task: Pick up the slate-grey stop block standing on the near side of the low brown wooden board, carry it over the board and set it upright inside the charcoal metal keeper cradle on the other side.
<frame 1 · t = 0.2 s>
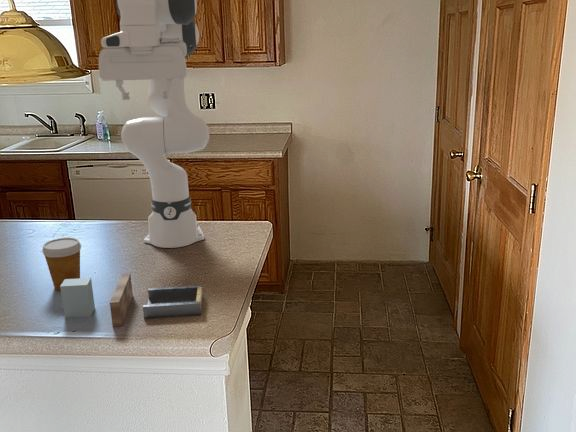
hand: (146, 99, 138), 48 cm above the counter, fingers open, 8 cm apart
brown wooden board: (123, 310, 136), on the counter
stop block: (80, 313, 136), on the counter
keeper: (174, 307, 138), on the counter
disposable coffee cup: (67, 287, 150), on the counter
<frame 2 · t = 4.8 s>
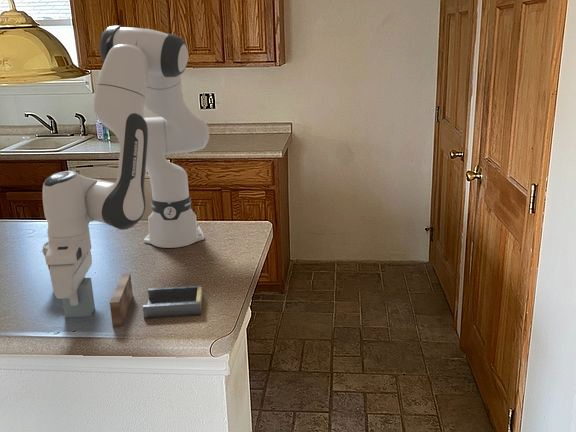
hand: (78, 298, 134), 4 cm above the counter, fingers closed on stop block, 4 cm apart
stop block: (80, 312, 136), on the counter, touching gripper
everything else where it was.
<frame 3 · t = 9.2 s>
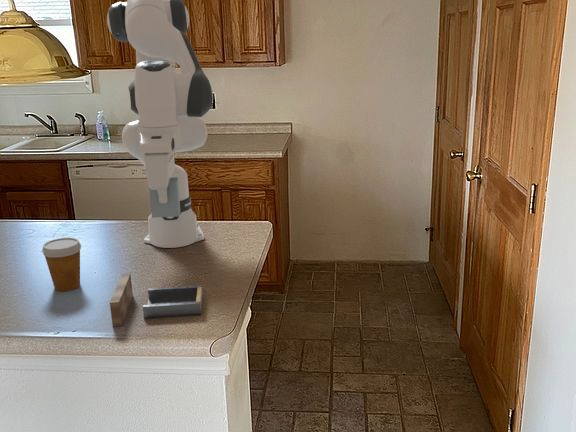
hand: (165, 199, 129), 27 cm above the counter, fingers closed on stop block, 4 cm apart
stop block: (166, 214, 130), point 23 cm above the counter, touching gripper
everything else where it was.
when the fingers open (6 cm above the counter, at t = 13.8 s): stop block drops 2 cm, resting on keeper.
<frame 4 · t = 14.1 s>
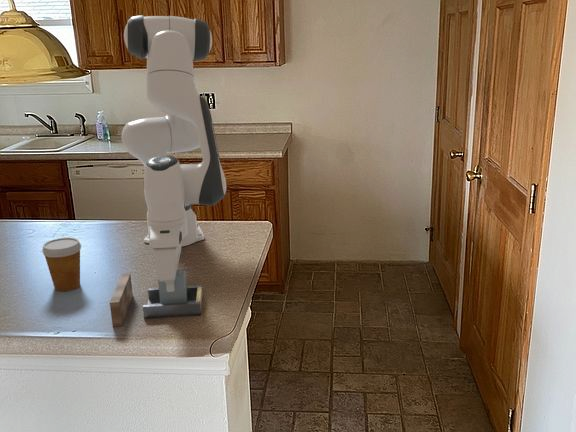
hand: (172, 283, 136), 6 cm above the counter, fingers open, 6 cm apart
stop block: (174, 304, 137), point 1 cm above the counter, touching keeper
everything else where it was.
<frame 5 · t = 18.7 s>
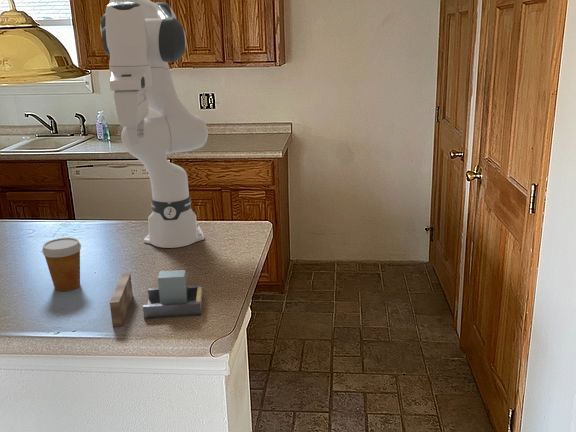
hand: (137, 140, 132), 39 cm above the counter, fingers open, 8 cm apart
nothing on the counter moved.
at the end: stop block 0.1 cm off-centre on the keeper, point 0.6 cm above the keeper's base; stop block tilted 0°; the gripper is holding nothing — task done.
